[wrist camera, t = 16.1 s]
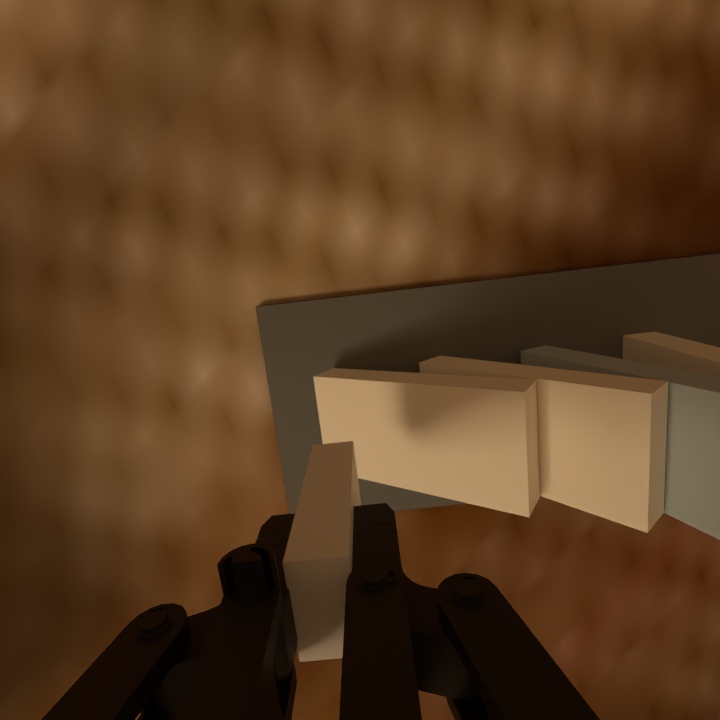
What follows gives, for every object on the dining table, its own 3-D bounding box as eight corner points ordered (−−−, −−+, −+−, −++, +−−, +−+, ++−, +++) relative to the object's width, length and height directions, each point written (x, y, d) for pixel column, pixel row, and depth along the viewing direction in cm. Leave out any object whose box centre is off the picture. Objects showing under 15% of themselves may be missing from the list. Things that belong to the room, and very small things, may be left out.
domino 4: (621, 427, 24) (804, 545, 14) (622, 335, 23) (822, 392, 13) (652, 424, 24) (856, 540, 14) (655, 331, 23) (878, 386, 13)
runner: (292, 517, 25) (291, 521, 25) (257, 306, 23) (255, 307, 22) (832, 461, 25) (840, 465, 24) (860, 237, 22) (870, 236, 22)
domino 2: (427, 456, 23) (647, 532, 15) (419, 362, 22) (651, 393, 14) (447, 446, 24) (663, 512, 16) (440, 355, 23) (668, 381, 15)
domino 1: (326, 470, 23) (529, 517, 17) (313, 376, 22) (524, 391, 16) (345, 457, 24) (539, 496, 18) (333, 367, 23) (536, 379, 17)
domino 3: (523, 444, 23) (743, 551, 14) (520, 350, 22) (755, 400, 13) (548, 437, 24) (775, 535, 15) (545, 345, 23) (789, 389, 14)
